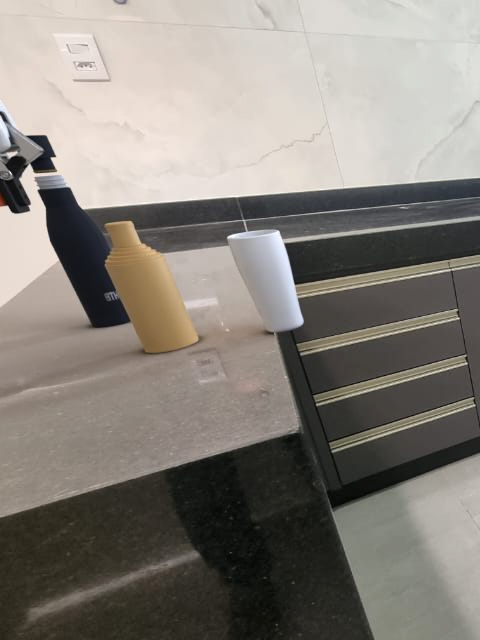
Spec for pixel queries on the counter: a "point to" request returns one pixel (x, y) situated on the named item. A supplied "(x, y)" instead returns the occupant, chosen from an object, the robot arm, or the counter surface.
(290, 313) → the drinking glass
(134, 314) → the sauce bottle
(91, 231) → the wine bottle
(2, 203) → the cap
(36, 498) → the counter surface
